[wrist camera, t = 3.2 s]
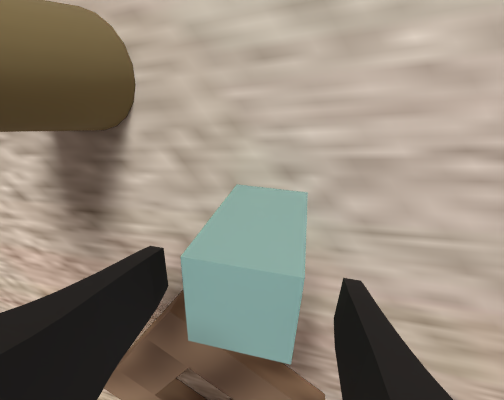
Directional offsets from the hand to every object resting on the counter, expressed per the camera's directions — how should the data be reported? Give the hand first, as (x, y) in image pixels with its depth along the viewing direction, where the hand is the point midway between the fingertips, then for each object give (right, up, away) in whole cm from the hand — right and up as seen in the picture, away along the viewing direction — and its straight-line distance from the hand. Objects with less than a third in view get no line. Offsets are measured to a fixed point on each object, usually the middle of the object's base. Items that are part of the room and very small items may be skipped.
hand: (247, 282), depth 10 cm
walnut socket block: (-4, -13, +12) cm, 18 cm away
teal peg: (+1, +2, +5) cm, 6 cm away
